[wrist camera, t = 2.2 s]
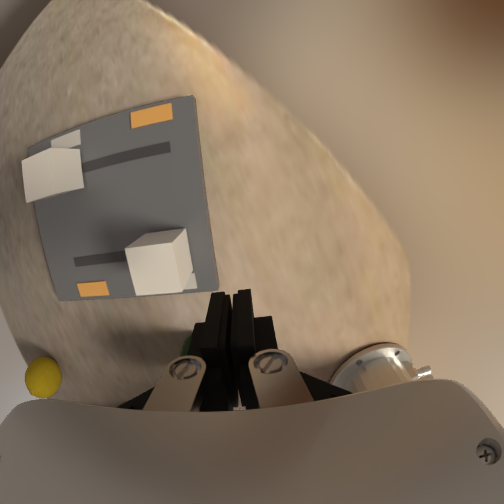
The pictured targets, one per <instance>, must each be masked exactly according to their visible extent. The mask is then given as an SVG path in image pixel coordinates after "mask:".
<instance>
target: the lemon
mask: <svg viewBox="0 0 504 504" xmlns="http://www.w3.org/2000/svg"><path fill="white" fill-rule="evenodd" d="M61 381H62V374H61V370H60V368H59V366H58V364H57V362H56V361H54V360H52V359H51V358H48V357H39V358H36V359H35V360H33V361H32V362H31V364H30V365H29V366H28V368H27V370H26V373H25V383H26V386H27V388H28V390H29V392H30V394H31V395H34V396H36V397H38V398H48V397H51V396H52V395H53V394H54V393H55V392H56V391H57V390H58V388H59V387H60V385H61Z"/></svg>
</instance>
